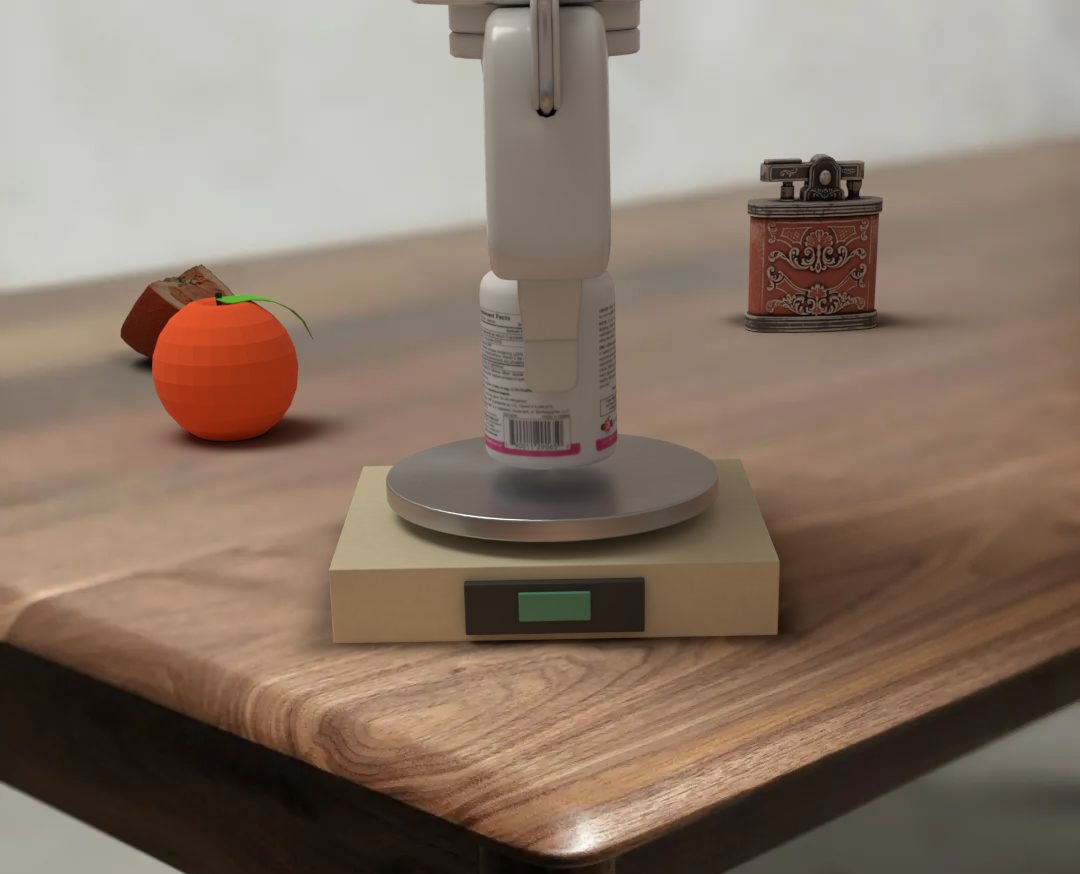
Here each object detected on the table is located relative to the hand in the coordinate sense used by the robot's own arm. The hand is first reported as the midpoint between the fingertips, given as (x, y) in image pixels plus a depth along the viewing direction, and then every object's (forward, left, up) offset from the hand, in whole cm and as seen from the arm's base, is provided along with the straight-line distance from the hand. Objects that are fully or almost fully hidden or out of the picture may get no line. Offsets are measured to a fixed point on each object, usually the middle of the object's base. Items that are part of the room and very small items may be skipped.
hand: (551, 368), depth 65 cm
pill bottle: (0, 0, -3) cm, 3 cm away
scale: (0, 0, -8) cm, 8 cm away
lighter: (-16, -48, -8) cm, 51 cm away
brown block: (+21, -42, -8) cm, 48 cm away
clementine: (+15, -23, -8) cm, 29 cm away
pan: (0, 0, -5) cm, 5 cm away
